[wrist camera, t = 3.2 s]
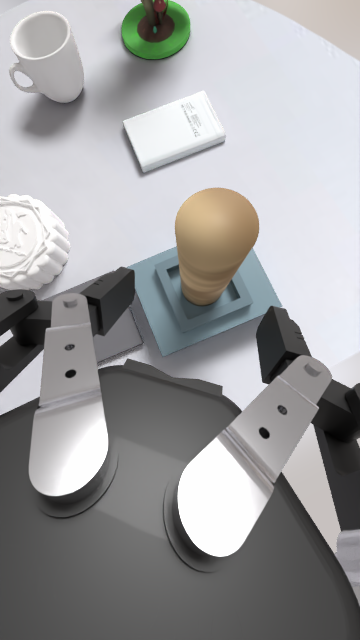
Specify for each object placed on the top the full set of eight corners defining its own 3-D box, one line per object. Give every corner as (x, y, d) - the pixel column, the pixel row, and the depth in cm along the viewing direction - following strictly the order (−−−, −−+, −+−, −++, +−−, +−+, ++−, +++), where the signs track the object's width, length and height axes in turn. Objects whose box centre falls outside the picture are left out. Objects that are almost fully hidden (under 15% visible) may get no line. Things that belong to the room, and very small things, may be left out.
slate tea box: (165, 355, 24) (161, 357, 20) (133, 276, 25) (123, 263, 21) (270, 311, 24) (286, 304, 20) (232, 235, 25) (240, 214, 21)
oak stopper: (191, 313, 21) (194, 278, 10) (175, 275, 22) (162, 206, 11) (229, 296, 21) (273, 245, 10) (212, 260, 22) (237, 175, 11)
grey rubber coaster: (68, 374, 24) (65, 375, 23) (44, 301, 25) (41, 300, 25) (143, 343, 24) (142, 343, 23) (115, 272, 25) (113, 270, 25)
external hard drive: (125, 131, 29) (202, 101, 29) (144, 176, 28) (224, 145, 28) (121, 119, 27) (203, 87, 27) (141, 166, 26) (226, 133, 26)
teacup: (75, 61, 30) (51, 0, 25) (101, 94, 29) (81, 37, 24) (20, 95, 30) (-16, 40, 24) (44, 129, 29) (12, 79, 23)
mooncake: (84, 221, 27) (68, 201, 23) (53, 302, 25) (31, 295, 22) (6, 201, 28) (-20, 180, 24) (-27, 279, 26) (-61, 269, 23)
